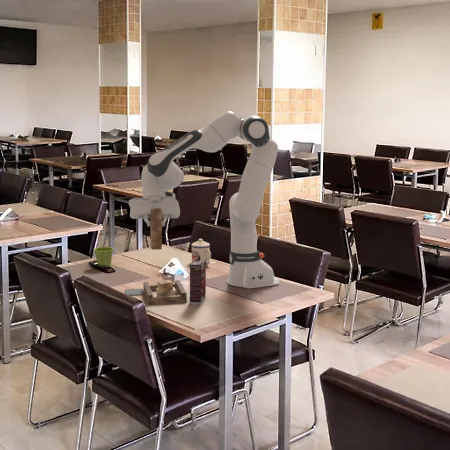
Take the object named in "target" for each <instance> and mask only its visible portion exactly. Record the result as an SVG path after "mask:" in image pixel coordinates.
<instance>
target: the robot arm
mask: <svg viewBox="0 0 450 450" xmlns="http://www.w3.org/2000/svg"><path fill="white" fill-rule="evenodd" d="M236 137H240V138H241V139H242V140H245V142H247V143H250V144H251V152H250V155H249V157H248V159H247V162H246V165H245V166H244V167H245V168H244V170H243V173H242V175H241V178H240V179H241V180H240V184H239V188H238V191H237V192H236V193H234V194H233V195H232V196H231V197H230V199H229V203H228V207H229V208H228V209H229V224H230V251H229V263H230V265H229V273H228V278H227V281H226V283H227V284H228V285H229V286H233V287H239V288H245V289H254V288H255V289H256V288H263V287H272V286H278V285H280V280H279V278H277V277H275V274H274V270H273V268H272V267H271V265H269V264H268V263H267V262H265V261H264V260H263V258H265V254H264V253H263V252H261V251H258V250H257V246H258V244H257V242H258V241H257V239H258V236H257V235H258V232H257V226H256V225H257V224H256V220H257V219H258V217H259V216H260V215H261V214H260V213H261V208H262V204H263V201H264V196H265V192H266V189H267V186H268V183H269V181H270V180H269V179H270V177H271V175H272V172H273V169H274V167H275V164H276V160H277V156H278V151H279V146H278V144H277V142H276V141H275V140H273V139H272V138H271V137H270V129H269V125H268V122H267V121H266V119H265V118H263V117H260V116H258V115H248V116H244V117H239V115H237V114H236V113H235V112H233V111H226V112H223V113H221V114H220V115H218V116H217V117H216V118H214V119H213V120H211V121H210V122H209V123H208V124H206V125H205V126H203V127H202V128H200V129H194V130H191V131H189V132H186V134H184V135H183V136H181V137H179V138H178V139H176V140H175V141H173V142H172V143H171V144H168V145H167V146H166V147H164V148H163V149H160V150H158V151H156V152H154V153H153V154H151V155H150V157H149V158H148V160H147V164H146V165H144V166H143V168H142V172H141V178H140V179H141V186H142V197H132V198H131V199H129V200H128V206H129V209H130V211H129V212H130V213H129V217H130V218H131V219H133V220H136V219H142V220H144V222H145V223H146V227H148V228H151V220H149V219H151V208H161V210H162V228H163V227H165V226H166V222H167V219H178V218H179V217H180V215H181V209H180V205H179V201H178V200H177V199H176V194H175V193H174V192H171V191H169V190H173V189H176V188H178V187H179V186H180V185H181V184H183V181H184V178H185V175H184V174H185V173H184V172H183V170H182V169H181V168H180V167H179V165H177V164H176V163H175V162H174V161H175V159H176V158H178V157H180V156H182V155H183V154H184V153H186V152H187V151H189V150H192V149H198V150H201V151H203V152H206V153H216V152H218V151H220V150H221V149H223V148H224V147H226V145H228V144H229V142H230V141H231V140H233V139H235V138H236Z"/></svg>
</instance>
